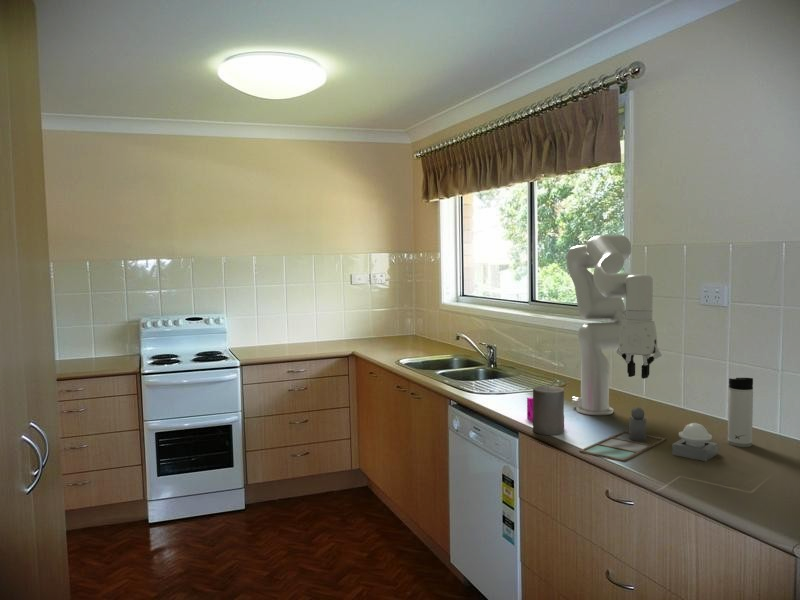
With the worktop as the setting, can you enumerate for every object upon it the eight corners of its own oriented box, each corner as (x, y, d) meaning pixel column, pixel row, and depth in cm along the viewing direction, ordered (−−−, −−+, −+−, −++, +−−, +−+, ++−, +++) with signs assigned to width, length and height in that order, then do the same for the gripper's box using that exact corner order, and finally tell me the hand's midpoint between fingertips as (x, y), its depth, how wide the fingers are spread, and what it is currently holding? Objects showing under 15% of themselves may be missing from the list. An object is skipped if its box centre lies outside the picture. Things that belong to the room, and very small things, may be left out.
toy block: (564, 429, 206) (564, 406, 206) (546, 430, 205) (546, 407, 205) (544, 418, 221) (544, 396, 221) (527, 419, 220) (527, 397, 219)
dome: (673, 448, 178) (674, 423, 177) (685, 442, 184) (685, 418, 183) (705, 454, 172) (705, 429, 171) (716, 447, 178) (716, 422, 177)
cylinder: (626, 439, 193) (626, 407, 192) (633, 436, 196) (633, 404, 196) (641, 442, 190) (642, 410, 189) (648, 439, 193) (649, 407, 192)
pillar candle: (526, 429, 206) (526, 383, 205) (550, 425, 210) (550, 380, 209) (545, 437, 197) (545, 389, 196) (570, 432, 201) (570, 385, 200)
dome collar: (672, 454, 178) (672, 444, 178) (684, 447, 184) (684, 437, 184) (705, 461, 172) (706, 450, 171) (717, 453, 178) (718, 443, 178)
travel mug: (740, 448, 182) (741, 379, 181) (722, 442, 189) (723, 375, 187) (758, 446, 184) (759, 377, 183) (739, 440, 190) (741, 373, 189)
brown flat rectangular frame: (579, 452, 182) (579, 450, 182) (624, 432, 201) (624, 430, 201) (624, 461, 172) (624, 460, 172) (666, 440, 192) (666, 438, 192)
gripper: (606, 315, 194) (606, 375, 195) (661, 318, 182) (660, 382, 183) (618, 313, 199) (617, 372, 200) (671, 316, 187) (671, 378, 189)
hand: (638, 376), depth 192 cm, fingers open, 3 cm apart
